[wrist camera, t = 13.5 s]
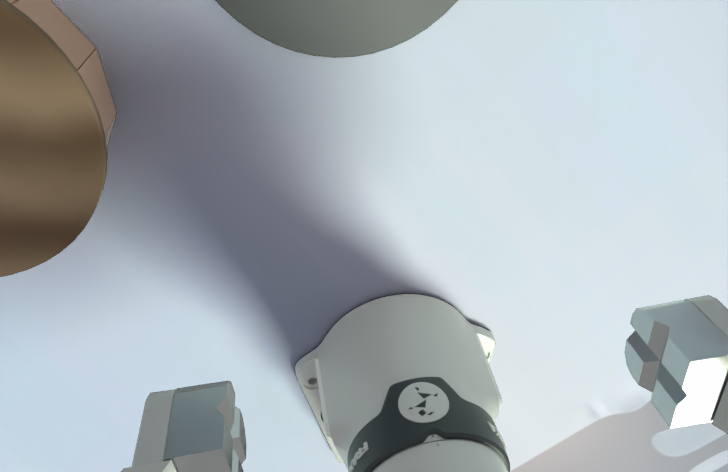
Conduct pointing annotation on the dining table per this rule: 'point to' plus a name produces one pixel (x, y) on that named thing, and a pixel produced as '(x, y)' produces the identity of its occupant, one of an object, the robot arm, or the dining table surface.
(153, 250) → the dining table surface
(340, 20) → the tray
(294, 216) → the dining table surface
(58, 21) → the bowl
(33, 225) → the lid
